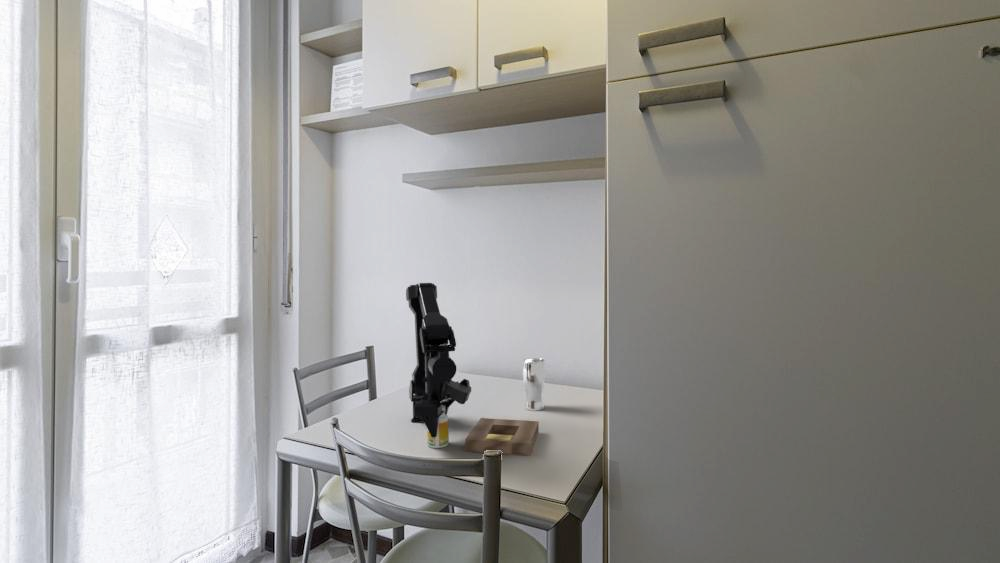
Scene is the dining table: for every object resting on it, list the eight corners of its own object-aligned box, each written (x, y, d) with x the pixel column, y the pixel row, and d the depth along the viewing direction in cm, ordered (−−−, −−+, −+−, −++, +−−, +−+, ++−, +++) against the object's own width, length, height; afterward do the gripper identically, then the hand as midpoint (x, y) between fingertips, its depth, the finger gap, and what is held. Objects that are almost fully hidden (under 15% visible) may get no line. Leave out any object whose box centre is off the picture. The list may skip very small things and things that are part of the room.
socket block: (465, 451, 123) (465, 438, 123) (480, 428, 139) (480, 416, 139) (530, 455, 120) (530, 442, 120) (538, 432, 136) (538, 420, 135)
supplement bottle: (449, 440, 130) (448, 403, 130) (447, 448, 125) (447, 410, 125) (428, 440, 130) (427, 403, 130) (426, 449, 125) (425, 410, 124)
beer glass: (527, 412, 153) (526, 363, 152) (520, 405, 159) (519, 358, 158) (548, 410, 155) (548, 361, 154) (540, 403, 161) (540, 357, 160)
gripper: (457, 382, 116) (458, 449, 117) (476, 364, 134) (477, 422, 135) (411, 380, 118) (412, 446, 119) (437, 363, 136) (438, 420, 137)
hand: (437, 432), depth 127 cm, fingers closed on supplement bottle, 5 cm apart
